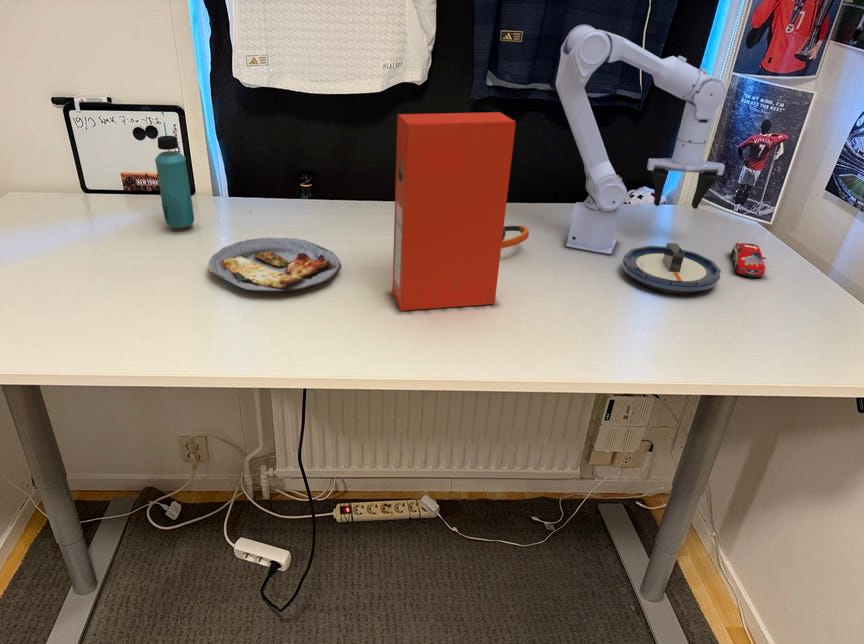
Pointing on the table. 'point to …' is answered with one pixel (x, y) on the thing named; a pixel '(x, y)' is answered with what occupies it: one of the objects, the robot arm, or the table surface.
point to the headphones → (514, 240)
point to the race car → (748, 259)
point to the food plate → (275, 264)
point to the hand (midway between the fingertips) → (675, 205)
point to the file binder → (450, 207)
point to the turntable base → (665, 289)
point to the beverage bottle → (174, 184)
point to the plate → (671, 268)
